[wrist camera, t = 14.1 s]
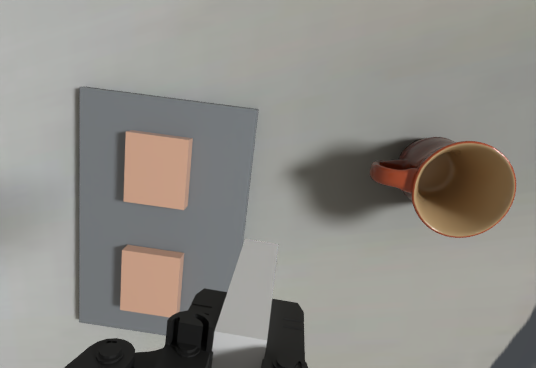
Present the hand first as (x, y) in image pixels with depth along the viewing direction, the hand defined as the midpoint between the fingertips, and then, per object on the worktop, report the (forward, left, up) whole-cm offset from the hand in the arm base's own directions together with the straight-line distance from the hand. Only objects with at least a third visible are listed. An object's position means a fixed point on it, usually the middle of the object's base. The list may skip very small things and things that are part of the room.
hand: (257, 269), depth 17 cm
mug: (-1, +15, -29) cm, 32 cm away
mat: (+10, -13, -28) cm, 33 cm away
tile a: (+3, -10, -26) cm, 28 cm away
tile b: (+17, -10, -26) cm, 33 cm away
